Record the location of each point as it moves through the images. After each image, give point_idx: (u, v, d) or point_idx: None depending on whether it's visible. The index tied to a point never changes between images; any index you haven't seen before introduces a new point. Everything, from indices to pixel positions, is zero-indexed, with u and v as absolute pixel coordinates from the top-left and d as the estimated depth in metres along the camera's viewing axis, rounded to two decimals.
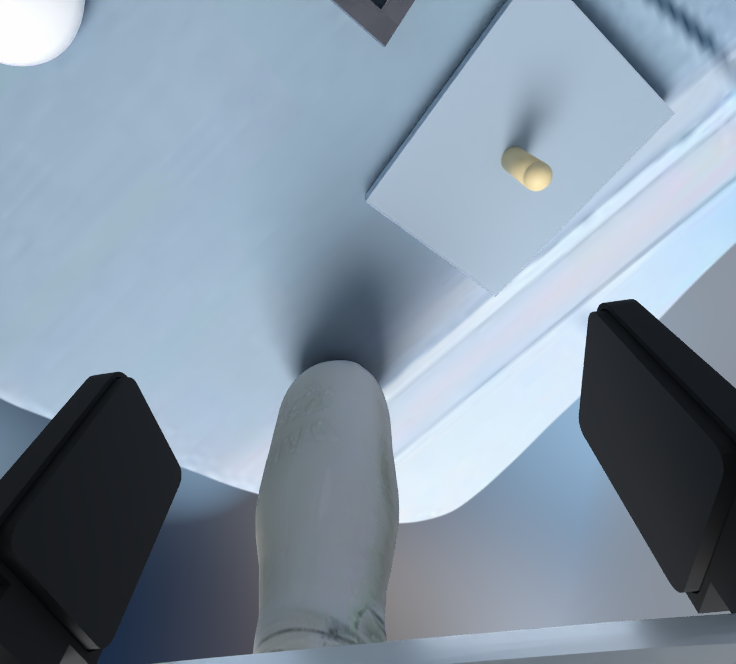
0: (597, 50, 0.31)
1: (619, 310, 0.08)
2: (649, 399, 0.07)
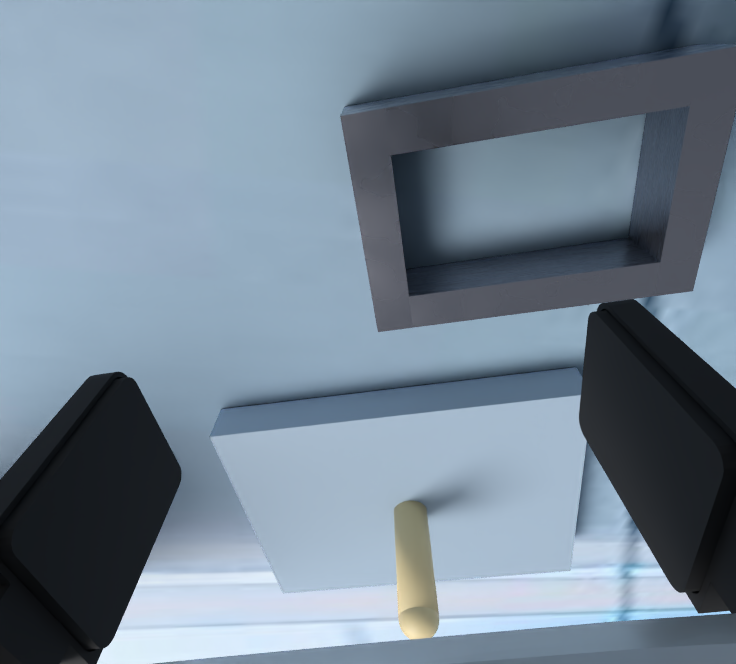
0: (565, 490, 0.24)
1: (619, 310, 0.08)
2: (649, 399, 0.07)
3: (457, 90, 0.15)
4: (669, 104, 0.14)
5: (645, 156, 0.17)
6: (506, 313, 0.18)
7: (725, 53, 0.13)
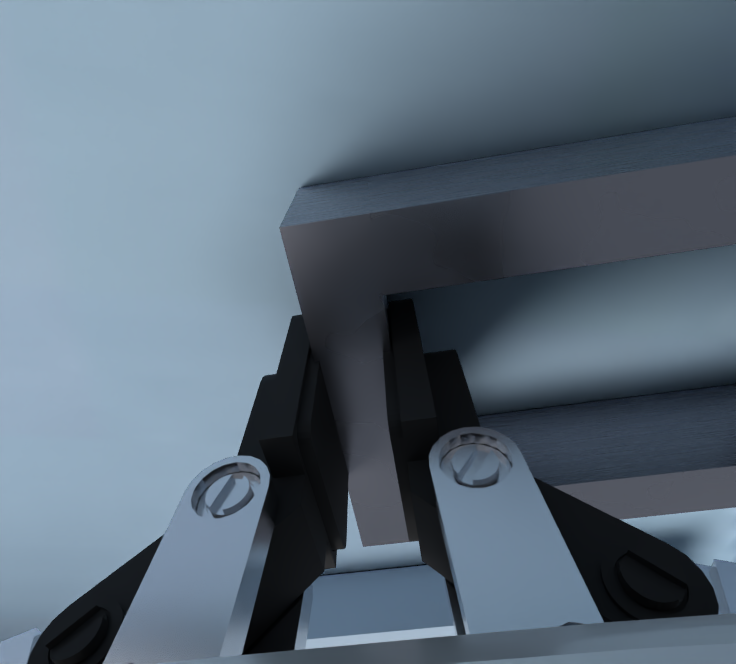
0: None
1: (395, 308, 0.09)
2: None
3: (507, 168, 0.08)
4: None
5: None
6: None
7: None
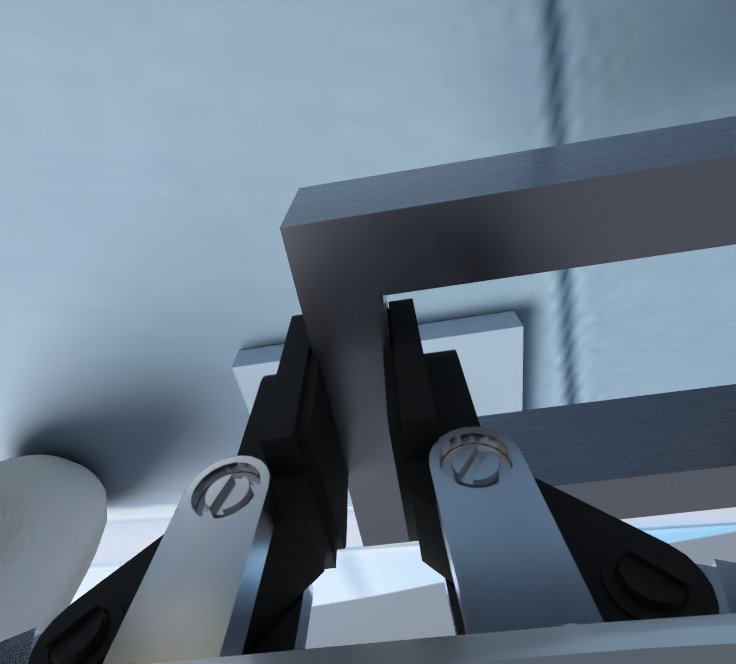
0: (510, 411, 0.31)
1: (394, 307, 0.09)
2: None
3: (507, 168, 0.08)
4: None
5: None
6: None
7: None
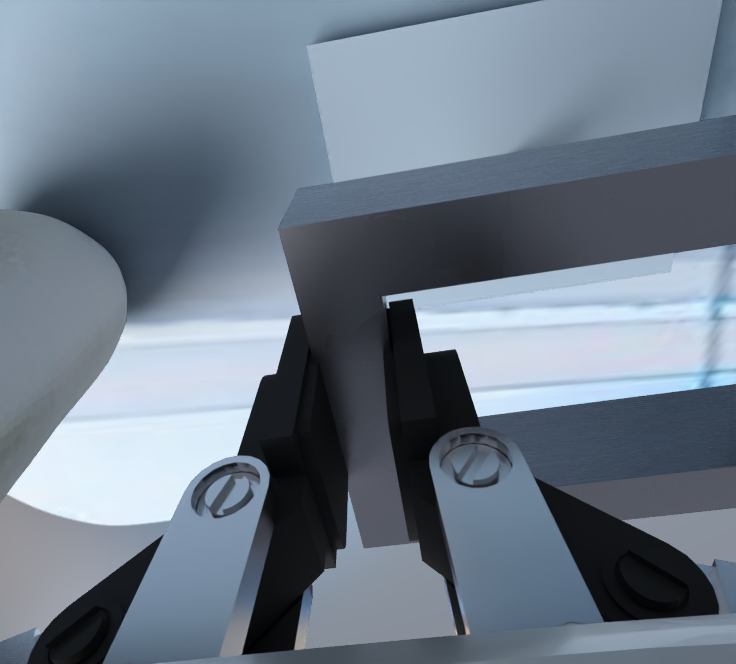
0: None
1: (395, 308, 0.09)
2: None
3: (506, 168, 0.08)
4: None
5: None
6: None
7: None
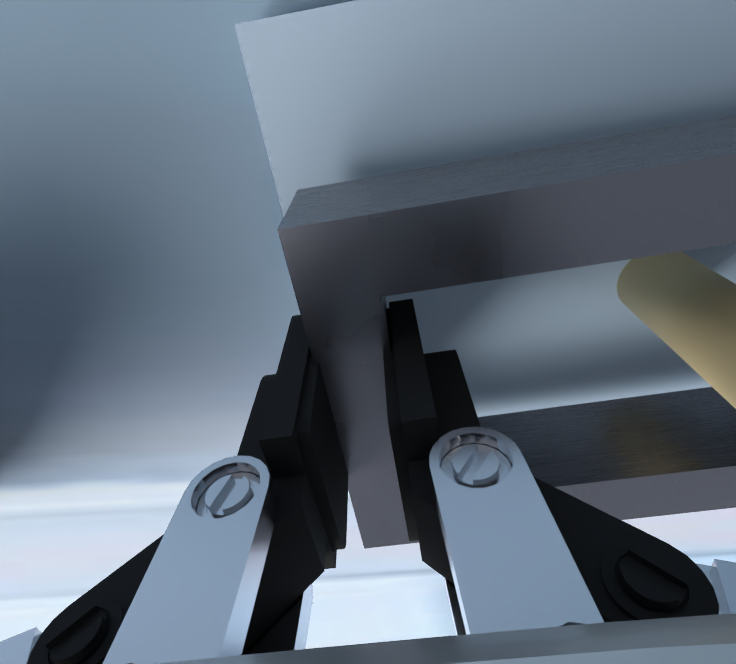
0: None
1: (395, 308, 0.09)
2: None
3: (506, 168, 0.08)
4: None
5: None
6: None
7: None
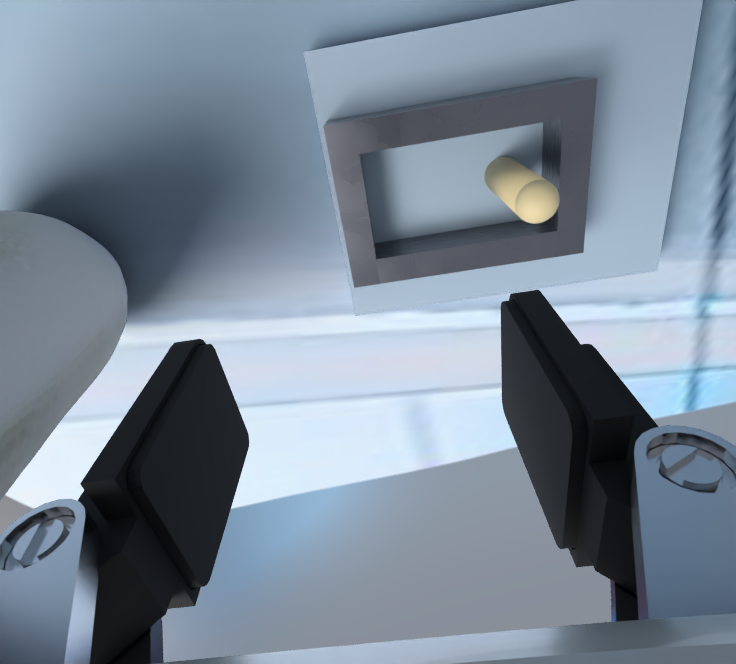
0: (664, 137, 0.23)
1: (523, 299, 0.09)
2: (534, 377, 0.08)
3: (405, 108, 0.21)
4: (548, 118, 0.21)
5: (544, 155, 0.23)
6: (448, 272, 0.24)
7: (581, 84, 0.20)
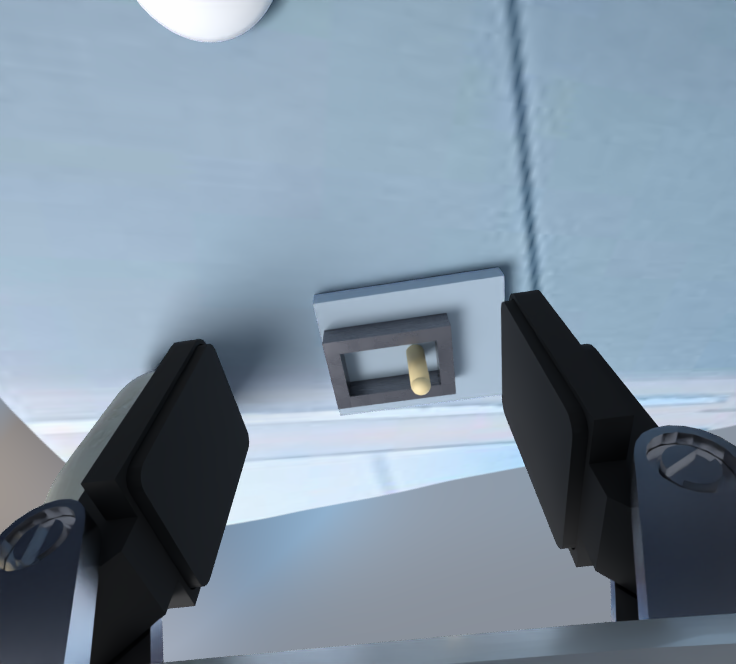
0: (496, 336, 0.46)
1: (523, 299, 0.09)
2: (534, 377, 0.08)
3: (362, 330, 0.44)
4: (430, 340, 0.43)
5: (435, 345, 0.46)
6: (387, 402, 0.47)
7: (443, 328, 0.42)
